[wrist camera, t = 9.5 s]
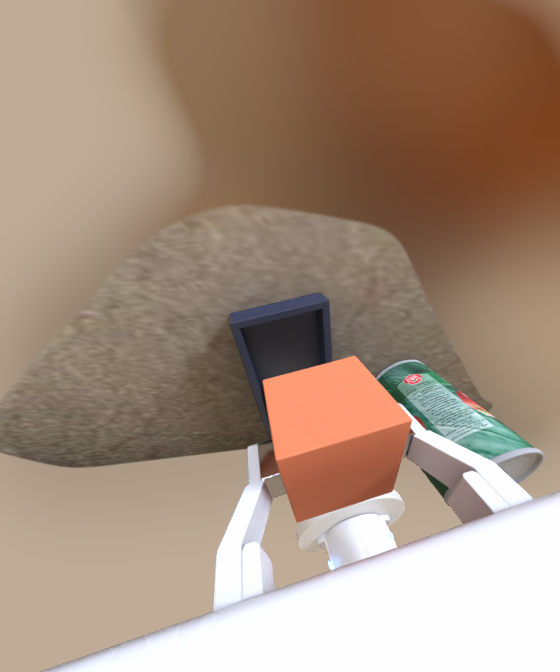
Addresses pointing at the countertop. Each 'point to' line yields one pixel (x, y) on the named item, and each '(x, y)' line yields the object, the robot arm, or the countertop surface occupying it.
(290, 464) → the orange block
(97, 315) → the countertop surface
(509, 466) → the canned tomato
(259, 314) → the frame
